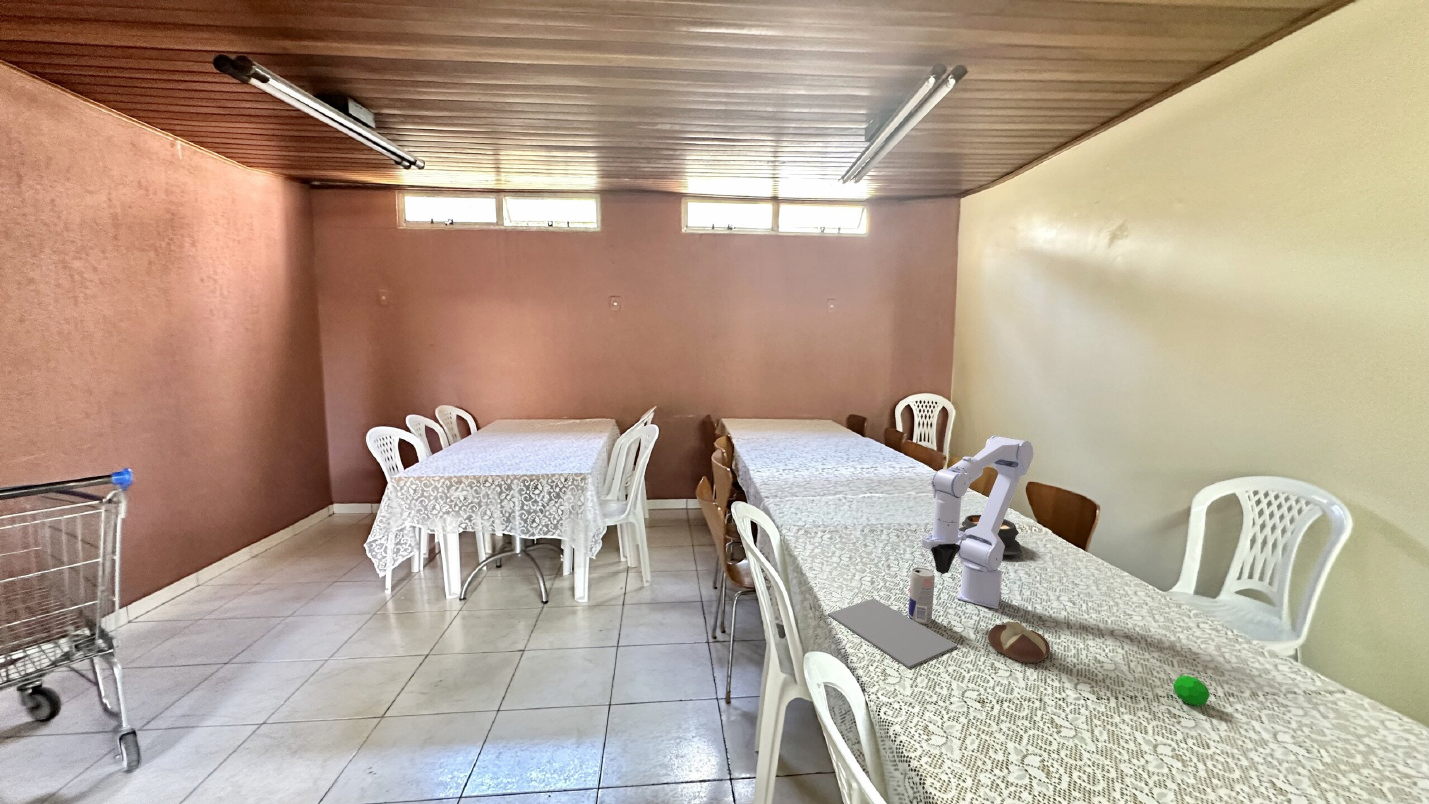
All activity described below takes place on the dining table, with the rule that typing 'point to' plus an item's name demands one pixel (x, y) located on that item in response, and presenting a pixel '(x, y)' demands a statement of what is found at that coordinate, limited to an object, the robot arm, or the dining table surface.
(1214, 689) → the dining table surface
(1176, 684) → the polyhedron
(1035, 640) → the bread
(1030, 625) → the dining table surface
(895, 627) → the mat
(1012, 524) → the casserole
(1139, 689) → the dining table surface
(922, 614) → the energy drink
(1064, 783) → the dining table surface
